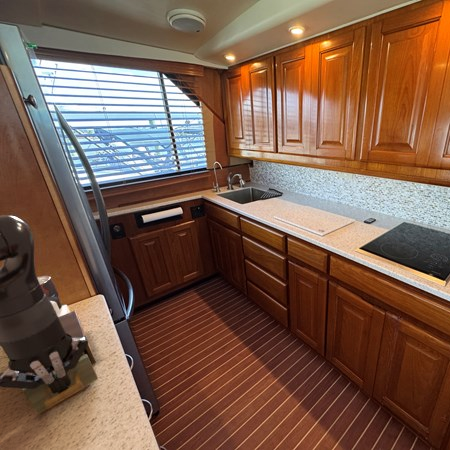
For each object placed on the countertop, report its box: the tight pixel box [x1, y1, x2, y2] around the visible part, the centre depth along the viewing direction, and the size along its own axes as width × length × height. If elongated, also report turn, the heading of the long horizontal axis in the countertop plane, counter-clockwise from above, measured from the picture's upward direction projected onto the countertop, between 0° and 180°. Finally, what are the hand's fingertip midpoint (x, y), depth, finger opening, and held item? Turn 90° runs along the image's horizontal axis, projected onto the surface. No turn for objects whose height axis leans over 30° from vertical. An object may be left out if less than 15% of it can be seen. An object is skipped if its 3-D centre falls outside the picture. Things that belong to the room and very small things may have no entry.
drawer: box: [21, 345, 99, 415], centre depth 54 cm, size 18×10×7 cm, turn 49°
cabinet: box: [19, 310, 97, 374], centre depth 60 cm, size 14×11×9 cm
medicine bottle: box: [47, 297, 71, 317], centre depth 68 cm, size 7×7×12 cm
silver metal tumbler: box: [37, 275, 61, 302], centre depth 72 cm, size 7×7×15 cm
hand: (63, 389), depth 49 cm, fingers closed
